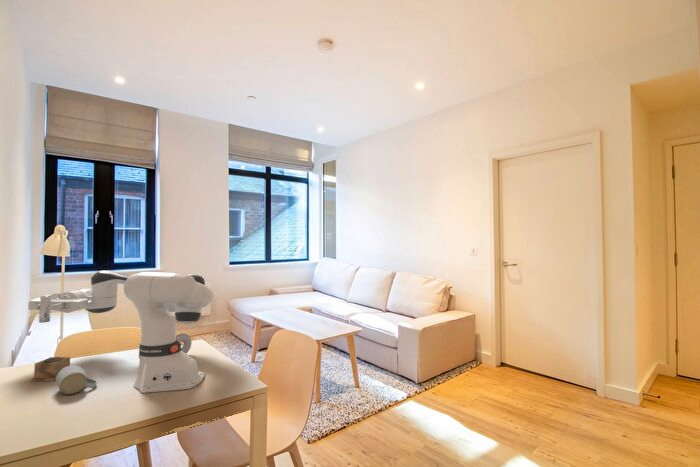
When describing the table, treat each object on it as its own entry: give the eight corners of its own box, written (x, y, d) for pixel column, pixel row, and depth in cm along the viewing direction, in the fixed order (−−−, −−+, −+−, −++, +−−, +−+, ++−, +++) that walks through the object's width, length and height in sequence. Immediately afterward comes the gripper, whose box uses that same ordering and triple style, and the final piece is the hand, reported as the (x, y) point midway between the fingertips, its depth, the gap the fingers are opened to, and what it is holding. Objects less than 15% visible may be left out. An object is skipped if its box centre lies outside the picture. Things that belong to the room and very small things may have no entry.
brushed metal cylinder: (52, 320, 136) (53, 295, 136) (45, 322, 133) (46, 296, 133) (43, 320, 136) (44, 295, 136) (36, 322, 132) (37, 296, 133)
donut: (172, 360, 145) (173, 336, 146) (167, 359, 147) (168, 335, 147) (192, 354, 154) (193, 331, 155) (187, 352, 156) (188, 330, 156)
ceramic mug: (59, 398, 109) (60, 374, 109) (54, 391, 114) (56, 367, 114) (99, 389, 117) (101, 366, 117) (93, 382, 122) (95, 360, 122)
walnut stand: (71, 372, 130) (72, 355, 130) (54, 381, 122) (55, 362, 122) (49, 372, 130) (50, 355, 130) (31, 381, 122) (32, 363, 122)
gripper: (95, 309, 148) (70, 316, 134) (45, 309, 147) (15, 315, 133) (95, 294, 148) (71, 299, 134) (46, 294, 147) (16, 299, 133)
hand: (43, 307), depth 133 cm, fingers closed on brushed metal cylinder, 3 cm apart
